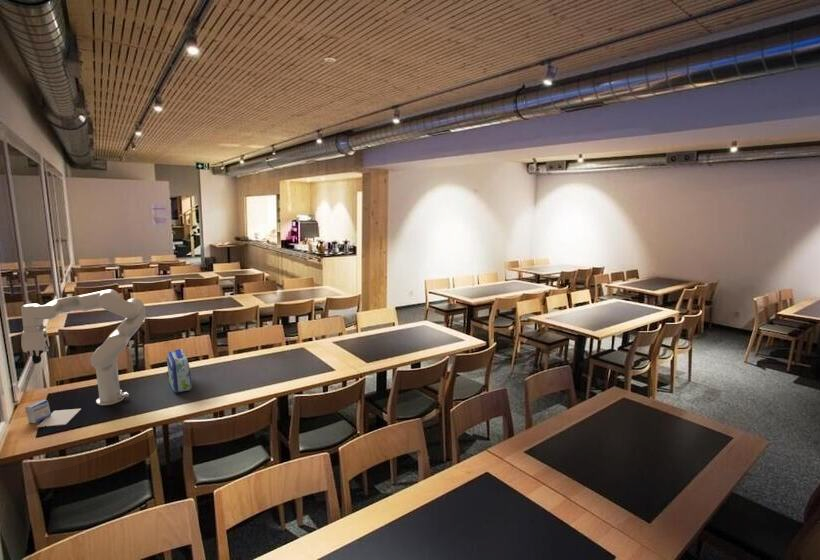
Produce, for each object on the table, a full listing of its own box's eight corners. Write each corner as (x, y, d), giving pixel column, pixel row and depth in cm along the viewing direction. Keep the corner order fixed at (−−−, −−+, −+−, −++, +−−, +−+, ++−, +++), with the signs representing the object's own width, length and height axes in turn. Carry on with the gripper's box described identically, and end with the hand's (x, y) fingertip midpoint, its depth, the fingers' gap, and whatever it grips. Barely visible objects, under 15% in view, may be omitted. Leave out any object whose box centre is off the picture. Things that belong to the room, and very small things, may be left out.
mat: (81, 409, 226) (81, 408, 226) (65, 424, 211) (65, 423, 211) (54, 411, 223) (54, 410, 223) (36, 427, 208) (36, 426, 208)
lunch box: (167, 380, 263) (164, 348, 259) (186, 376, 269) (184, 344, 265) (172, 397, 242) (169, 362, 238) (193, 392, 248) (191, 358, 244)
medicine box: (35, 423, 210) (31, 407, 209) (28, 422, 211) (24, 406, 210) (51, 415, 218) (48, 399, 216) (44, 414, 219) (40, 399, 217)
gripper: (54, 325, 221) (58, 359, 224) (20, 326, 218) (24, 360, 221) (46, 330, 214) (49, 365, 217) (10, 330, 211) (15, 366, 214)
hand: (37, 362), depth 219 cm, fingers closed
